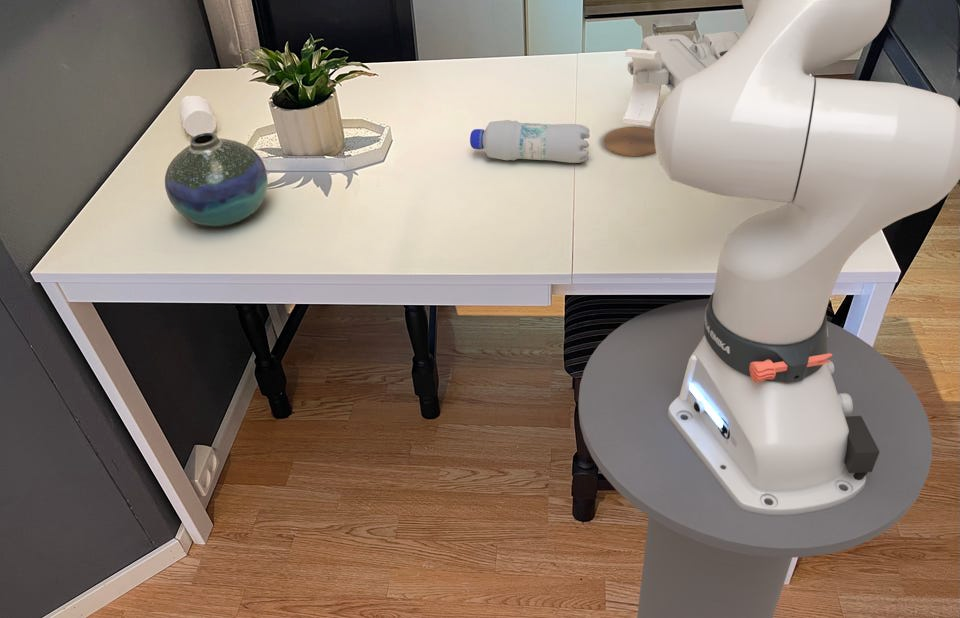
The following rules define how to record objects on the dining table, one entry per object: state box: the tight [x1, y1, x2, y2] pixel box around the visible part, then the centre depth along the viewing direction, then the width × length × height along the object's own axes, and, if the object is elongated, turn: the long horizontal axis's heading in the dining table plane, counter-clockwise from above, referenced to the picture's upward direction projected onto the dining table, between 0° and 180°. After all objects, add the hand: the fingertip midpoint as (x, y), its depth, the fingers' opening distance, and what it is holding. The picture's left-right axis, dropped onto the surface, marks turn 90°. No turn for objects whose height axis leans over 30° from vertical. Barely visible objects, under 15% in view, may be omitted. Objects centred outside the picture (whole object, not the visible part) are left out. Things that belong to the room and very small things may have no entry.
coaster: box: [603, 126, 656, 157], centre depth 136 cm, size 10×10×1 cm
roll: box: [178, 95, 217, 138], centre depth 151 cm, size 6×12×6 cm, turn 23°
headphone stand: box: [622, 48, 662, 127], centre depth 127 cm, size 5×6×12 cm
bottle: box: [469, 119, 590, 164], centre depth 132 cm, size 7×7×20 cm
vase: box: [164, 132, 269, 227], centre depth 123 cm, size 15×15×13 cm
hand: (632, 72), depth 128 cm, fingers closed on headphone stand, 2 cm apart
